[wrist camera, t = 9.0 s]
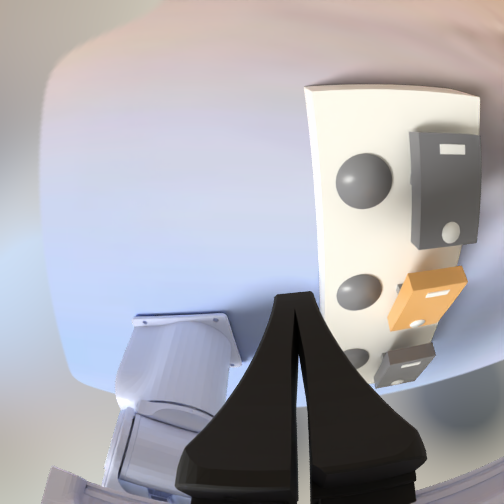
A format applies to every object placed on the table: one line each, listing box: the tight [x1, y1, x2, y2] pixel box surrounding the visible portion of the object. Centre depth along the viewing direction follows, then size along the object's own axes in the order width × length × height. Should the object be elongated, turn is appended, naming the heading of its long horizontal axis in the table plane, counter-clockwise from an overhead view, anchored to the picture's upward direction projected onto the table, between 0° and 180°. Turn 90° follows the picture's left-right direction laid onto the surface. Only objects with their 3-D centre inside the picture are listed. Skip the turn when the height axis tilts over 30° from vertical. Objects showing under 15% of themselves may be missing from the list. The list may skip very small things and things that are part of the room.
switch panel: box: [304, 84, 480, 384], centre depth 22 cm, size 31×10×4 cm, turn 9°
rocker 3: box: [374, 342, 436, 389], centre depth 22 cm, size 6×4×1 cm, turn 9°
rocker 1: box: [409, 132, 481, 250], centre depth 13 cm, size 6×4×1 cm, turn 9°
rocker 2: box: [387, 266, 468, 332], centre depth 18 cm, size 6×4×1 cm, turn 9°
